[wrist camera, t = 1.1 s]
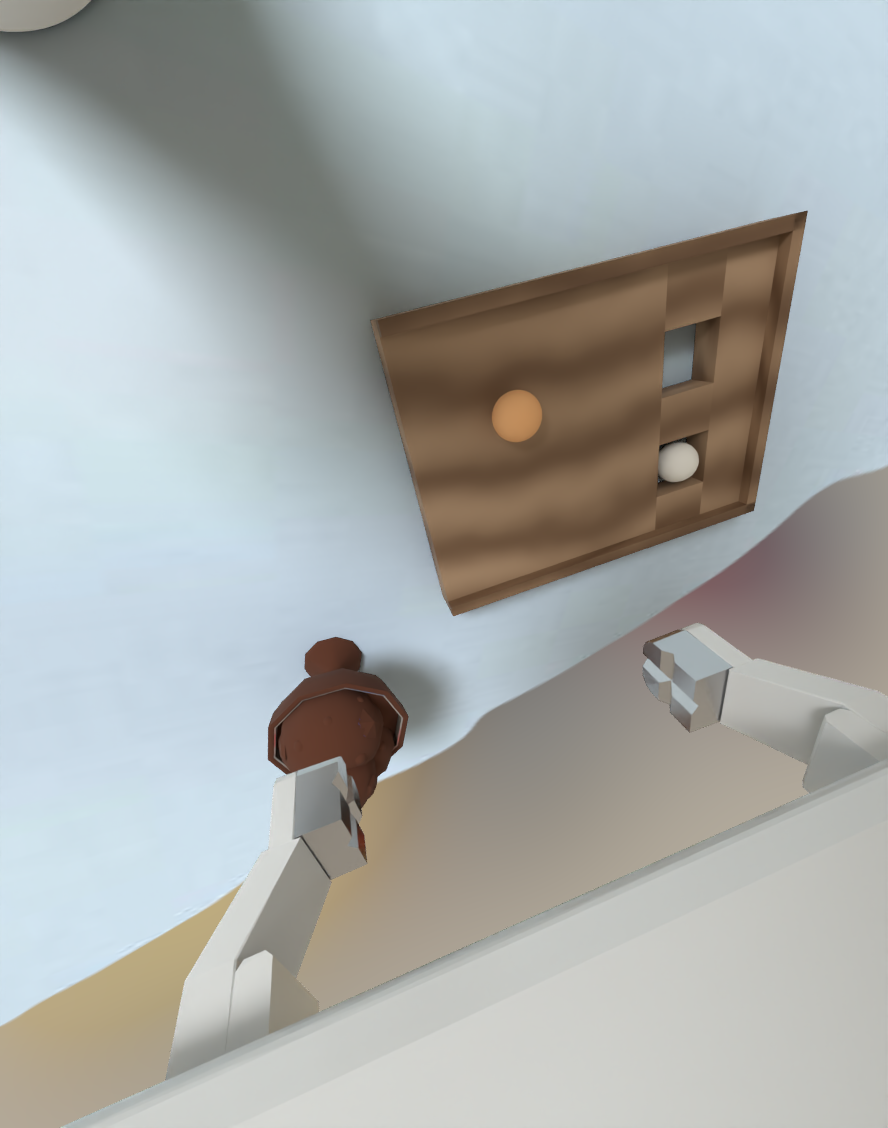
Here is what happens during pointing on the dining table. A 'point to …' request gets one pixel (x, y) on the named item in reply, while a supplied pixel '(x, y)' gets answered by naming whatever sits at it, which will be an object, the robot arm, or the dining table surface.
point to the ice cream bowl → (338, 718)
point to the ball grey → (677, 462)
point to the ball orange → (517, 416)
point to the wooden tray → (590, 406)
